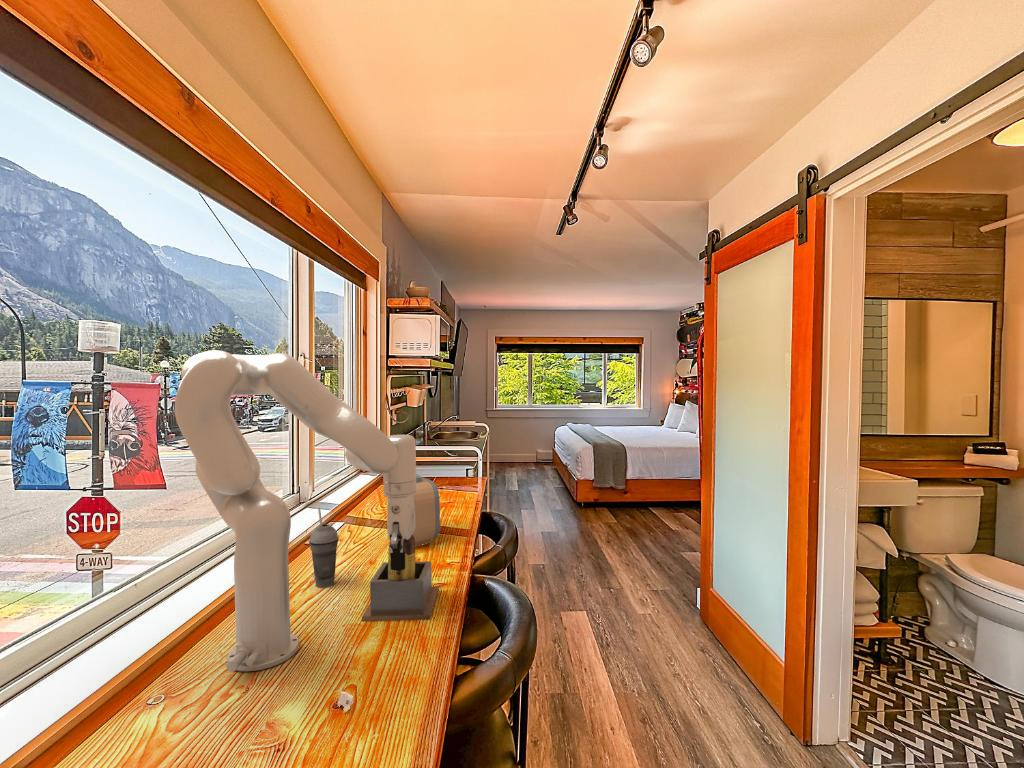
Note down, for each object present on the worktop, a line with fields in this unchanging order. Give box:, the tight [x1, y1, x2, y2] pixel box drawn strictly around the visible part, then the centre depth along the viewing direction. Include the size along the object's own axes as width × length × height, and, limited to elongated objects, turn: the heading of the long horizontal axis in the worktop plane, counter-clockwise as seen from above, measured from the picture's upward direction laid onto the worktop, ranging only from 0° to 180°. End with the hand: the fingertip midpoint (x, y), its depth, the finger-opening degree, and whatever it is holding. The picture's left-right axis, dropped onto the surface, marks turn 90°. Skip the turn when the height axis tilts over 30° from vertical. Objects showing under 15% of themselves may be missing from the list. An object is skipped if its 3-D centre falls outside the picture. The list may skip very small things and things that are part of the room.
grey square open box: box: [361, 560, 440, 622], centre depth 119 cm, size 15×15×8 cm
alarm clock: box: [412, 473, 441, 547], centre depth 166 cm, size 21×10×22 cm, turn 34°
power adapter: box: [337, 690, 355, 712], centre depth 82 cm, size 3×3×3 cm
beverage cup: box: [308, 507, 339, 589], centre depth 131 cm, size 7×7×20 cm
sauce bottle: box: [387, 535, 416, 579], centre depth 119 cm, size 7×6×20 cm
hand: (401, 563), depth 119 cm, fingers closed on sauce bottle, 6 cm apart
